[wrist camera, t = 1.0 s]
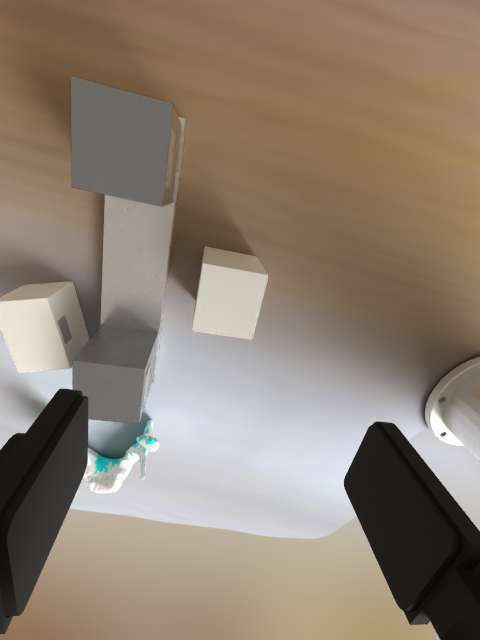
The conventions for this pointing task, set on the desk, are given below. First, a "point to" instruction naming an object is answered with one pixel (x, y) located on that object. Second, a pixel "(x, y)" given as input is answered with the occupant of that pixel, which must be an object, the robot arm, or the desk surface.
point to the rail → (126, 237)
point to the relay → (43, 326)
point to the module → (229, 294)
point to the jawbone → (118, 464)
